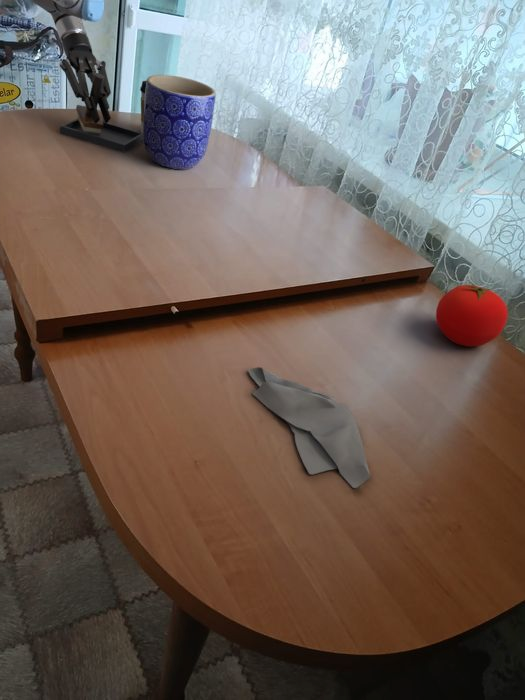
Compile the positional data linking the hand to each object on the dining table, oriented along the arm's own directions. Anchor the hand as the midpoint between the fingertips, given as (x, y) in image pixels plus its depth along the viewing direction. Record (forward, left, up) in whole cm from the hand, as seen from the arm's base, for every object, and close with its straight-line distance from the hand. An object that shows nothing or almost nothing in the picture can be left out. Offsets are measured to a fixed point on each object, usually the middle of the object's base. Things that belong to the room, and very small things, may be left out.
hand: (102, 120), depth 154 cm
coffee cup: (+8, +16, -6) cm, 19 cm away
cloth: (+78, -87, -6) cm, 117 cm away
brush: (-6, +4, -3) cm, 8 cm away
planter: (+22, -1, -6) cm, 23 cm away
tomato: (+103, -49, -6) cm, 114 cm away
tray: (-1, +2, -5) cm, 6 cm away
